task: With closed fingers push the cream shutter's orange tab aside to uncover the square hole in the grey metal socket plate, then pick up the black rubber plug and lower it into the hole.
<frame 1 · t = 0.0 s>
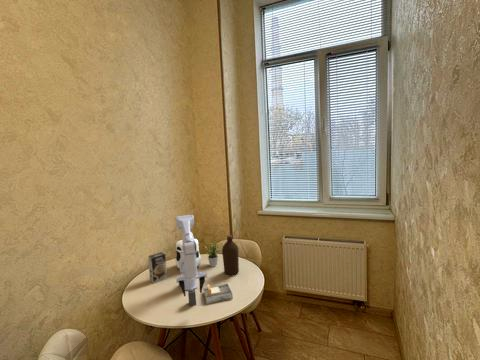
hand: (192, 293, 123), 10 cm above the table, fingers open, 7 cm apart
milk container: (188, 266, 179), on the table
socket: (217, 295, 139), on the table
coffee box: (158, 279, 162), on the table
house plant: (215, 265, 179), on the table
shutter: (213, 288, 139), point 4 cm above the table, slide at 0.0 cm
plug: (192, 303, 133), on the table
olive oil: (231, 272, 166), on the table
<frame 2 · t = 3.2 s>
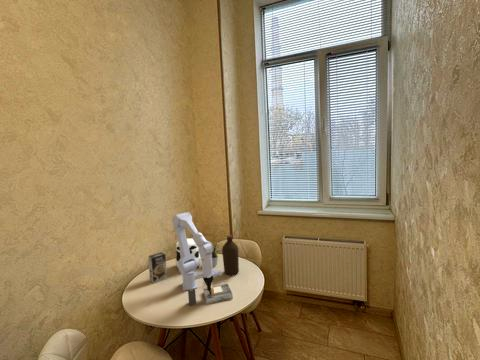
hand: (208, 289, 138), 4 cm above the table, fingers closed
shutter: (216, 288, 139), point 4 cm above the table, slide at 1.4 cm, touching gripper
everything else where it was.
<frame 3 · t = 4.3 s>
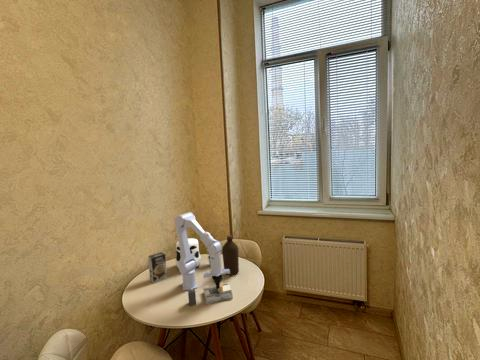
hand: (217, 288, 139), 4 cm above the table, fingers closed
shutter: (224, 286, 140), point 4 cm above the table, slide at 6.3 cm, touching gripper
everything else where it was.
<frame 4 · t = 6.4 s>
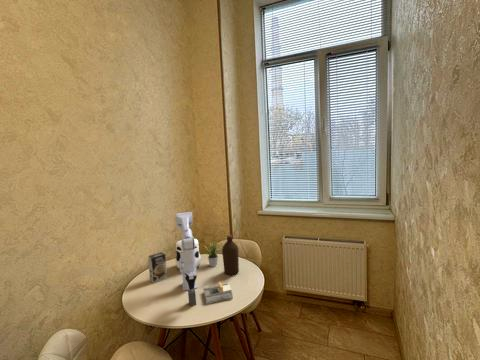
hand: (191, 286, 132), 9 cm above the table, fingers open, 5 cm apart
shutter: (225, 286, 140), point 4 cm above the table, slide at 6.4 cm
everything else where it was.
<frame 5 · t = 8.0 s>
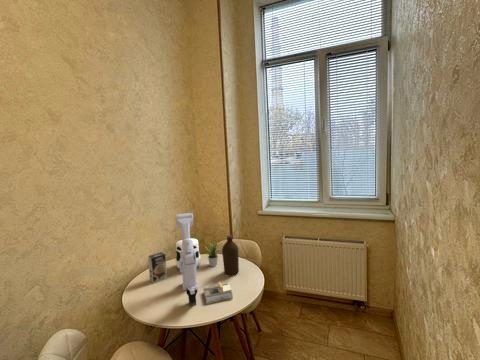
hand: (192, 300, 133), 2 cm above the table, fingers closed on plug, 3 cm apart
plug: (192, 303, 133), on the table, touching gripper
everything else where it was.
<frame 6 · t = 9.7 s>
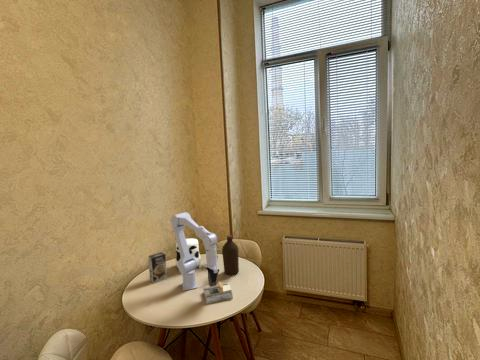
hand: (213, 280, 138), 9 cm above the table, fingers closed on plug, 3 cm apart
plug: (212, 284, 138), point 7 cm above the table, touching gripper
everything else where it was.
when the fingers open (3 cm above the table, at t = 11.3 s): plug drops 1 cm, resting in socket.
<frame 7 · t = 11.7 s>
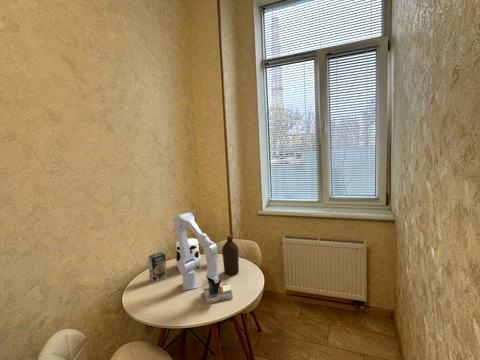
hand: (213, 290, 139), 3 cm above the table, fingers open, 7 cm apart
plug: (213, 296, 139), resting in socket
everything else where it was.
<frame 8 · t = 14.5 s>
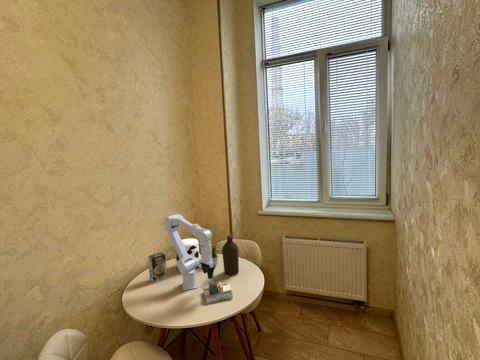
hand: (207, 275, 142), 10 cm above the table, fingers open, 7 cm apart
nothing on the table moved.
at the end: plug 0.3 cm from the target spot on the socket, point 0.0 cm above the socket's base; shutter slide at 6.4 cm; the gripper is holding nothing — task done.
